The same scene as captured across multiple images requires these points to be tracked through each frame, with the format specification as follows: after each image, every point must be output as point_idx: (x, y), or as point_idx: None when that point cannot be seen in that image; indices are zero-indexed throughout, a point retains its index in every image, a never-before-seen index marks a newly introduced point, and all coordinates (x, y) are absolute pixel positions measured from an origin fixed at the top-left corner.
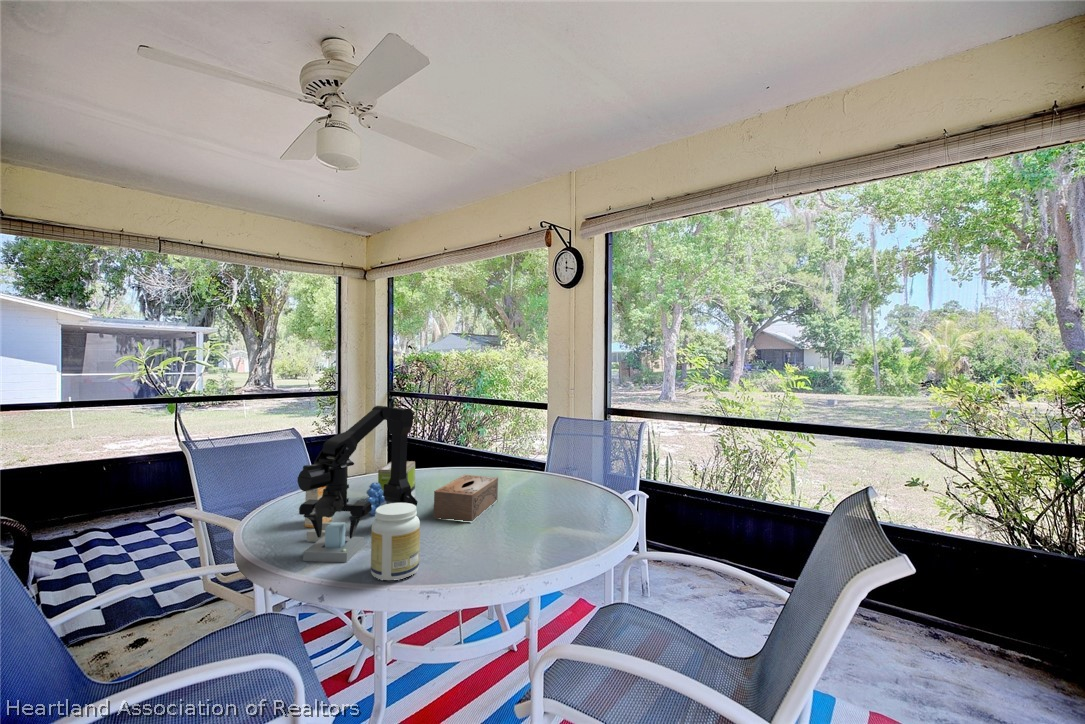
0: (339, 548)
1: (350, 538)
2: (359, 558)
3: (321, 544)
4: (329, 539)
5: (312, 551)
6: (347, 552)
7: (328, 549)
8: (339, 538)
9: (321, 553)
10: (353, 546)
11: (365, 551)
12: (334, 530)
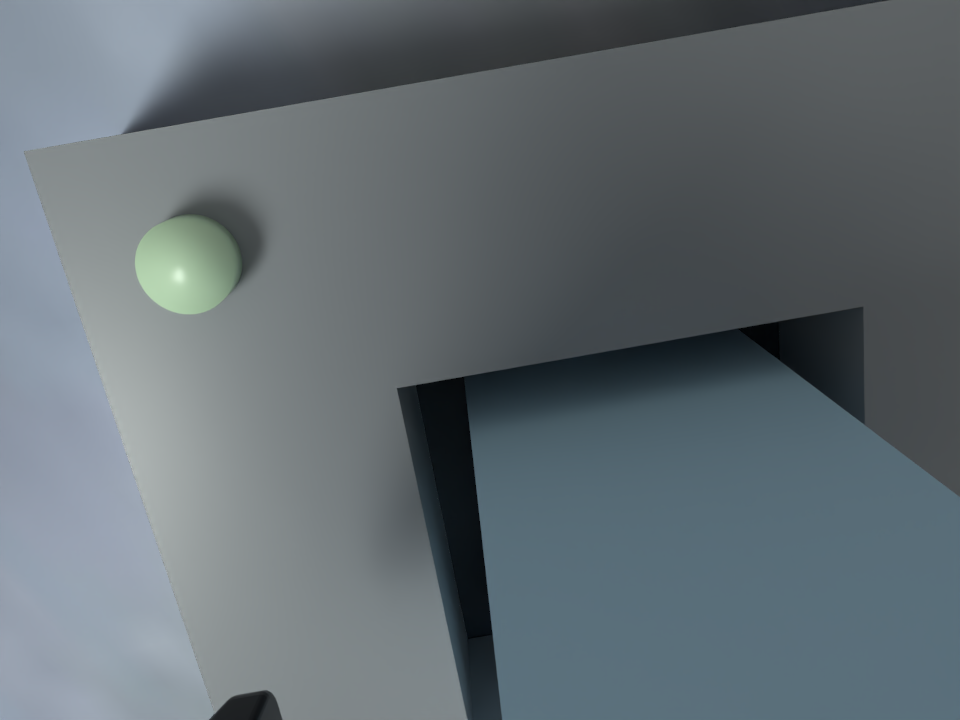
0: (402, 365)
1: (259, 694)
2: (14, 368)
3: (935, 458)
4: (766, 475)
5: (953, 38)
6: (46, 201)
7: (627, 252)
8: (488, 563)
9: (685, 38)
10: (169, 543)
11: (130, 640)
12: (719, 697)
